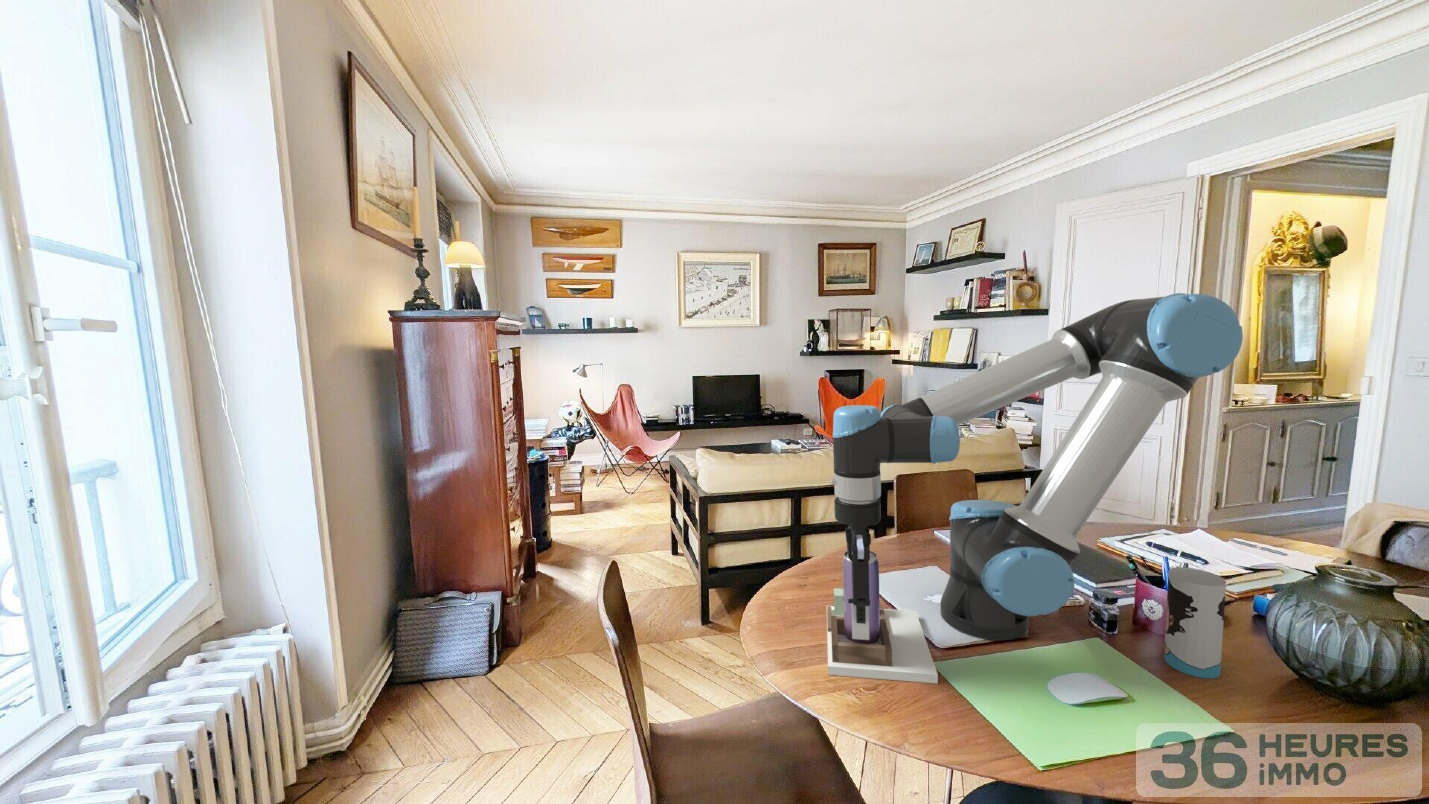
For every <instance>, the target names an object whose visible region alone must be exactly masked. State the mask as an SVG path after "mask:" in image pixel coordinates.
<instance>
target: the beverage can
mask: <svg viewBox="0 0 1429 804" xmlns="http://www.w3.org/2000/svg"><path fill="white" fill-rule="evenodd" d="M852 555H853V554H852ZM878 557H879V556H878V554H877V553H875V552H874V551H872V550H870V560H869V600H870V605H869V640H861V639H852V603H848V599H852V597H853V591H852V561H851V560H849V557H848V550H846V551H845V552H844V553H843V558H842V589H843V599H844V634H845V636H846V638H847V639H848V641H849V642H851V643H857V644H872V645H874V644H876V643H877V642H878V640H879V639H880V609H881V607H880V605H881V604H880V562H879V559H878Z"/></svg>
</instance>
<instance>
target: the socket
mask: <svg viewBox="0 0 1429 804" xmlns="http://www.w3.org/2000/svg"><path fill="white" fill-rule="evenodd" d="M838 635H845V634H844V616H831V636H832V662H838V663H851V664H865V665H878V666H891V667H892V648H891V643H890V639H889V635H888V630H887V626H886V621H885V619H880V640H881V645H872V644H857V643H843V642H838Z"/></svg>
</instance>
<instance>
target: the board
mask: <svg viewBox="0 0 1429 804" xmlns="http://www.w3.org/2000/svg"><path fill="white" fill-rule="evenodd" d="M831 616H843V615H835V611H834V605H826V630H827V631H826V636H827V642H826V643H827V675H828V676H840V677H849V678H850V677H851V678H864V679H875V680H876V679H877V680H887V681H888V680H889V681H891V680H892V681H900V682H913V683H914V682H915V683H927V684H938V683H939V682H938V681H939V680H938V679H939V678H938V677H939V674H938V671H937V668H936V666H935V663H934V660H933V657H932V655H931V652H930V649H929V645H928V642H927V640H926V637H925V634H924V631H923V627H922V626H921V625H922V624H921V623H920V620H919V617H918V614H917V612H916V610H911V609H891V608H880V619H885V621H886V626H887V630H888V635H889V639H890V643H891V648H892V667H891V666H878V665H865V664H851V663H838V662H832V636H831ZM838 642H843V643H851V642H849V641H848V639H847V638H846V636H845V635H838ZM874 645H881V640H880V639H879V640H878V642H877V643H876V644H874Z"/></svg>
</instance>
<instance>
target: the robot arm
mask: <svg viewBox="0 0 1429 804" xmlns="http://www.w3.org/2000/svg"><path fill="white" fill-rule="evenodd" d="M1243 333H1244V332H1243V326H1242V325H1240V322H1239V316H1238V315H1237V313H1236V311H1235V310H1234V309H1233V308H1232V307H1231V306H1230V305H1229V304H1227V303H1226V302H1225V301H1223V300H1222V299H1220V298H1218V297H1216V296H1212V295H1209V294H1204V293H1203V294H1202V293H1184V292H1183V293H1182V292H1181V293H1180V292H1178V293H1173V294H1169V295H1166V296H1159V297H1157V296H1156V297H1149V298H1148V297H1147V298H1135V299H1130V300H1125V301H1120V302H1117V303H1115V304H1112V305H1110V306H1106V307H1105V308H1102V309H1101V310H1098V311H1097V312H1094V313H1092V314H1091V315H1090V314H1089V315H1088V316H1086V317H1084V318H1081V319H1079V320H1077V321H1075V322H1073V323H1071V324H1069V325H1067V326H1065V327H1063V328H1061V329H1058V330H1056V331H1055V332H1054V333H1053V335H1052V337H1051V339H1050V340H1047V341H1045V342H1042V343H1041V344H1038V345H1036V346H1034V347H1031V348H1029V349H1027V350H1025V351H1022V352H1020V353H1018V354H1015V355H1013V356H1011V357H1009V358H1007V359H1003V360H1002V361H1000V362H997V363H995V364H992V365H990V366H988V367H986V368H984V369H980V370H978V371H977V372H974V373H972V374H969V375H968V376H967V375H966V376H965V377H962V378H961V379H958V380H956V381H954V382H952V383H951V382H950V383H948V384H947V385H945V386H942V387H940V388H938V389H935V390H934V391H930V392H928V393H926V394H924V395H922V396H920V397H918V398H915V399H913V400H910V401H908V402H905V403H903V404H900V403H899V404H898V403H897V404H892V405H889V406H887V407H885V408H884V409H883V410H882V411H881V413H880V409H879V408H878V407H877V406H874V405H868V404H867V405H866V404H865V405H861V404H860V405H859V404H856V405H855V404H854V405H843V406H840V407H838V408H836V409H835V411H834V413H833V417H832V418H833V421H832V423H833V424H832V428H833V429H832V447H833V449H832V451H833V454H832V455H833V473H834V474H833V475H834V477H832V478H830V483H831V484H834V495H835V499H834V501H833V503H834V519H835V520H836V521H837V522H838V523H840V524H842V525H845V526H848V527H845V541H846V548H847V550H846V551H848V557H849V560H851V561H852V591H853V597H852V599H848V603H852V639H861V640H869V605H870V600H869V560H870V551H871V549H870V546H871V544H872V538H871V537H872V536H871V533H870V528H867V527H870V526H875V525H877V524H879V523H880V522H881V519H882V510H881V505H882V503H881V500H880V499H879V498H880V497H881V496H882V484H881V483H882V482H881V481H882V479H881V477H882V476H881V475H882V473H881V464H938V463H940V464H941V463H948V462H949V463H950V462H953V461H955V460H956V459H957V458H958V455H959V453H960V446H961V439H960V437H961V435H960V429H959V426H960V425H962V424H964V423H967V422H969V421H972V420H974V419H977V418H979V417H981V416H984V415H986V414H988V413H991V412H994V411H996V410H998V409H1000V408H1003V407H1005V406H1009V405H1010V404H1013V403H1015V402H1017V401H1019V400H1022V399H1025V398H1026V397H1029V396H1032V395H1034V394H1036V393H1039V392H1041V391H1043V390H1046V389H1048V388H1051V387H1053V386H1055V385H1058V384H1060V383H1062V382H1063V383H1064V382H1065V381H1068V380H1069V379H1072V378H1074V379H1078V380H1085V379H1087V378H1090V377H1092V376H1095V375H1098V374H1101V376H1102V377H1101V380H1100V381H1099V383H1098V384H1097V386H1096V387H1095V388H1094V390H1093V392H1092V394H1091V395H1090V397H1089V398H1088V400H1087V401H1086V403H1085V404H1084V406H1083V407H1082V408H1081V410H1080V412H1079V413H1078V414H1077V417H1076V418H1075V420H1074V421H1073V423H1072V424H1071V427H1070V428H1069V429H1068V430H1067V432H1066V433H1065V436H1063V438H1062V440H1061V441H1060V442H1059V445H1058V446H1057V447H1056V449H1055V451H1054V452H1053V453H1052V455H1051V457H1050V458H1049V460H1048V462H1047V463H1046V465H1045V466H1044V468H1043V469H1042V471H1041V472H1040V474H1039V475H1038V477H1037V478H1036V480H1035V481H1034V483H1033V485H1032V486H1031V488H1030V489H1029V491H1028V493H1027V494H1026V496H1025V497H1024V498H1023V500H1022V501H1021V503H1019V505H1015V504H1013V503H1010V502H1006V501H999V500H998V501H997V500H988V499H987V500H986V499H968V500H961V501H957V502H954V503H953V504H952V505H951V507H950V515H949V517H948V519H949V523H950V524H949V533H950V534H949V537H950V540H949V541H950V544H949V545H950V546H949V554H950V555H949V557H950V558H949V559H950V560H949V562H950V563H949V564H950V565H949V566H950V567H949V569H950V570H949V574H950V575H949V577H948V580H947V583H946V585H945V589H944V590H943V591H944V592H943V594H942V596H941V599H940V609H939V610H940V616H941V618H942V619H943V620H944V622H946V624H948V625H949V626H950V627H952V628H954V630H957V631H959V632H962V633H963V634H966V635H969V636H972V637H976V638H980V639H984V640H993V641H1010V640H1016V639H1020V638H1022V637H1023V636H1025V635H1026V634H1027V633H1028V632H1029V629H1030V627H1029V626H1030V617H1036V616H1040V615H1041V616H1042V615H1043V616H1046V615H1049V614H1052V613H1054V612H1055V611H1058V610H1060V609H1061V608H1062V607H1064V605H1066V604H1067V602H1069V600H1070V599H1071V597H1072V596H1073V592H1074V590H1075V583H1076V582H1075V579H1074V574H1073V570H1072V568H1071V566H1072V564H1073V563H1074V562H1075V560H1076V559H1077V557H1078V556H1079V554H1080V552H1081V549H1080V546H1079V543H1078V540H1077V536H1078V534H1079V533H1080V531H1081V530H1082V528H1083V527H1084V525H1085V524H1086V522H1087V521H1088V520H1089V518H1090V516H1091V515H1092V513H1093V512H1094V510H1095V509H1096V508H1097V506H1098V505H1099V503H1100V501H1101V500H1102V499H1103V497H1104V496H1105V494H1106V492H1107V491H1108V490H1109V488H1110V487H1111V485H1112V484H1113V482H1114V481H1115V479H1117V477H1118V475H1119V474H1120V472H1121V471H1122V469H1123V467H1124V466H1125V465H1126V464H1127V462H1128V460H1129V459H1130V457H1131V456H1132V455H1133V453H1134V451H1135V450H1136V448H1137V447H1138V445H1139V444H1140V443H1141V441H1142V439H1143V438H1144V436H1145V435H1146V434H1147V432H1148V430H1149V429H1150V428H1151V426H1152V425H1153V423H1154V422H1155V420H1156V419H1157V417H1158V416H1159V414H1161V412H1162V410H1163V409H1164V407H1165V405H1166V404H1167V403H1169V402H1173V401H1176V400H1180V399H1184V398H1186V397H1187V396H1188V394H1189V392H1191V390H1192V388H1193V387H1194V386H1195V384H1196V382H1197V381H1198V380H1199V378H1203V377H1208V376H1212V375H1214V374H1217V373H1220V372H1222V371H1223V370H1224V369H1225V370H1226V368H1227V367H1229V366H1230V365H1231V364H1232V363H1233V362H1234V360H1235V359H1237V356H1238V355H1239V353H1240V351H1241V348H1242V345H1243V337H1244V335H1243ZM852 554H853V555H852Z"/></svg>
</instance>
